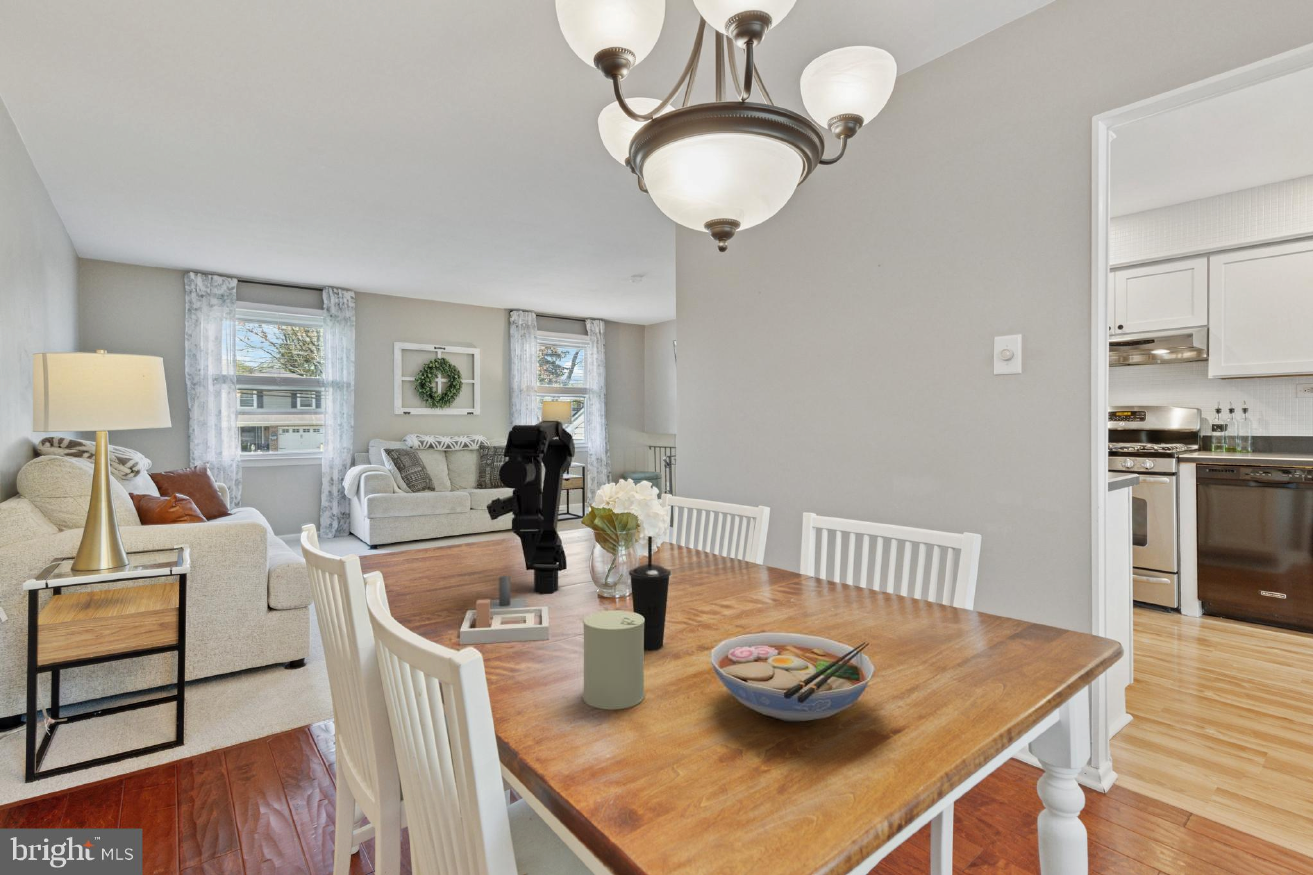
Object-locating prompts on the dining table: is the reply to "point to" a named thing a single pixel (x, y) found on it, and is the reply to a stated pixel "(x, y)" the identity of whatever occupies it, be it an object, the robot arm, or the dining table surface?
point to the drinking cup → (651, 599)
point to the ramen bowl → (792, 674)
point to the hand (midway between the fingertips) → (528, 557)
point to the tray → (505, 628)
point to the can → (613, 659)
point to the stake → (506, 596)
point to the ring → (498, 617)
